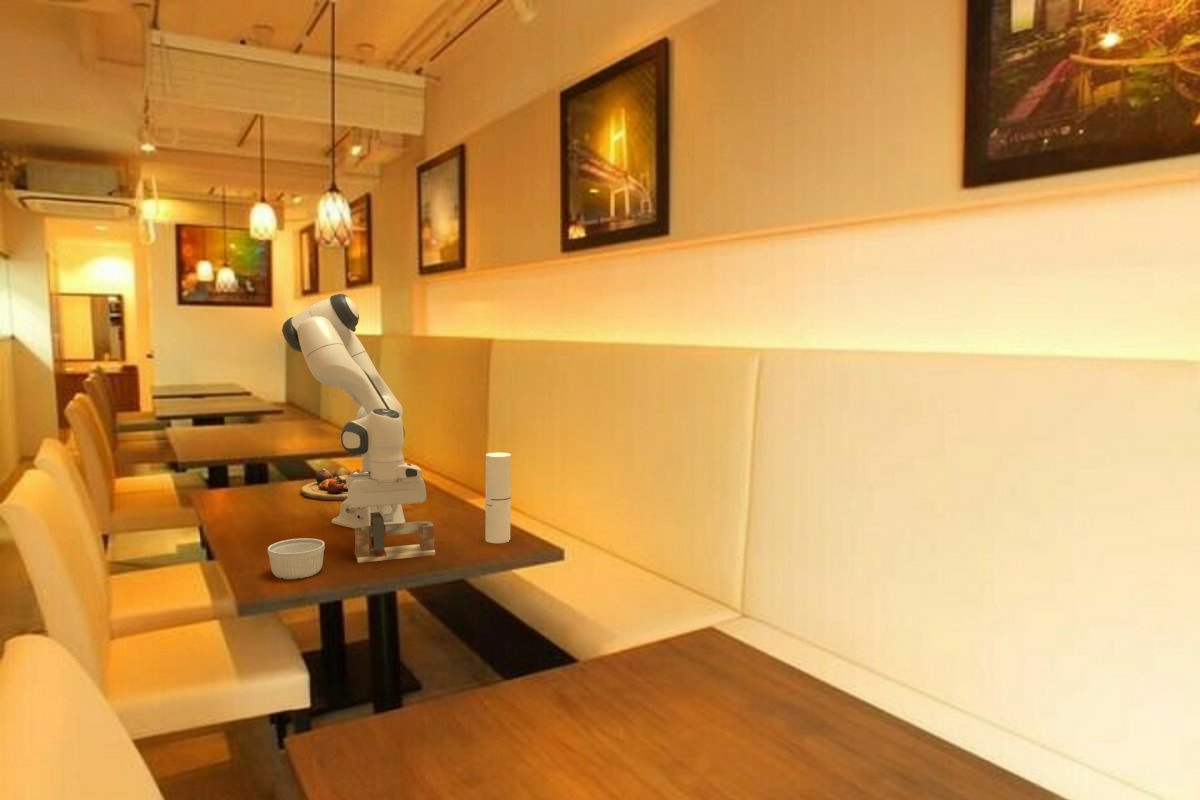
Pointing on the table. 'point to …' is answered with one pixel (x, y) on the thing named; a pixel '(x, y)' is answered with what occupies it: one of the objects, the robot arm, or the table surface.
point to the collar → (377, 530)
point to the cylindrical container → (498, 497)
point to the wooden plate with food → (328, 485)
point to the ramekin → (296, 558)
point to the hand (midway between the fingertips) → (387, 521)
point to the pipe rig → (398, 551)
